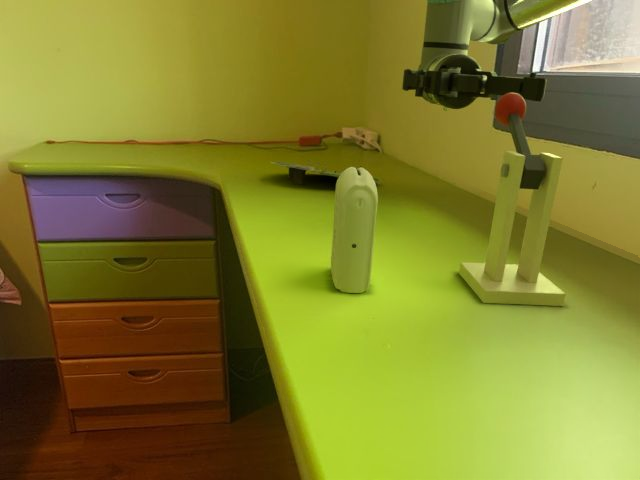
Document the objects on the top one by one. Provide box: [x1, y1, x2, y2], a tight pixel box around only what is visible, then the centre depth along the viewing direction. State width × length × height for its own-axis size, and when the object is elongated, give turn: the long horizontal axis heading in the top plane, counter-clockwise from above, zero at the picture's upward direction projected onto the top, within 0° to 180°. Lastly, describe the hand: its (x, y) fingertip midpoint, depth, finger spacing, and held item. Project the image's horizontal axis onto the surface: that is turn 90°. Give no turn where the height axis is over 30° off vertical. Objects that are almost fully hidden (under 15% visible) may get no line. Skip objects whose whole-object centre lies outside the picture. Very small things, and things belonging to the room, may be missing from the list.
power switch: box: [458, 150, 567, 307], centre depth 77 cm, size 12×9×15 cm
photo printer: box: [330, 166, 379, 294], centre depth 77 cm, size 10×4×12 cm, turn 2°
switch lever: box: [494, 93, 546, 190], centre depth 78 cm, size 15×4×4 cm, turn 2°
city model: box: [269, 160, 384, 185], centre depth 143 cm, size 25×24×6 cm
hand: (489, 86), depth 90 cm, fingers open, 13 cm apart
